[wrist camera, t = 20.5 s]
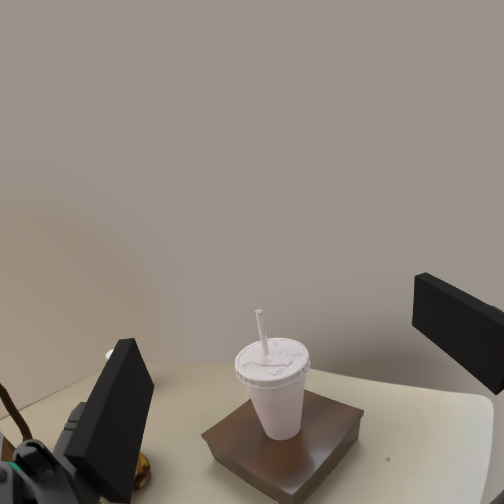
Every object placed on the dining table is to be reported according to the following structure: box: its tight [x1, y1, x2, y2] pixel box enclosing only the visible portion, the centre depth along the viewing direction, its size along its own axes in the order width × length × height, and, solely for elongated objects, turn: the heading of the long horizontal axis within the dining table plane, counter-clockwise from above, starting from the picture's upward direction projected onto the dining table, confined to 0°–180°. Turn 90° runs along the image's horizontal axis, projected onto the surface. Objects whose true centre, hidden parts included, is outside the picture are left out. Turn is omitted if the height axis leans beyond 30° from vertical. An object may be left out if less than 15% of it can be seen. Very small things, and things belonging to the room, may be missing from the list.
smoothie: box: [235, 310, 310, 440], centre depth 24 cm, size 6×6×14 cm
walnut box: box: [201, 389, 364, 504], centre depth 26 cm, size 12×12×5 cm
